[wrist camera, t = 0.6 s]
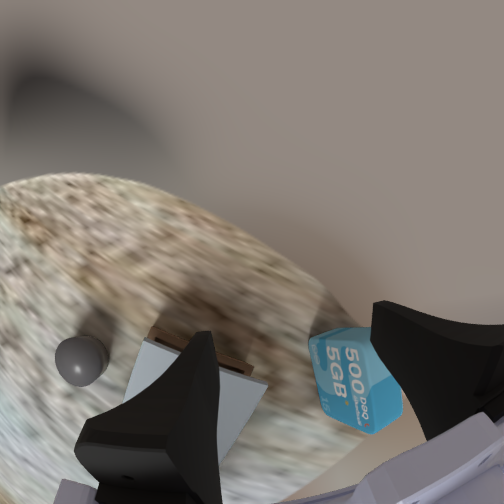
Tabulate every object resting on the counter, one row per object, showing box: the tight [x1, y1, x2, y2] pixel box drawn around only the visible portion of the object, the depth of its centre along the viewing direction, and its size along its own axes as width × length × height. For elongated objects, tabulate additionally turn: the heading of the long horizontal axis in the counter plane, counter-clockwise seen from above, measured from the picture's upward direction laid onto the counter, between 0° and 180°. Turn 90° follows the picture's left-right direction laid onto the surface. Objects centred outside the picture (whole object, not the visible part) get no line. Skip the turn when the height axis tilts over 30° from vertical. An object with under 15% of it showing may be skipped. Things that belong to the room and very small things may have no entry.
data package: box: [308, 327, 403, 434], centre depth 30 cm, size 12×4×12 cm, turn 14°
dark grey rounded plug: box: [55, 336, 108, 387], centre depth 25 cm, size 5×5×5 cm
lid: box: [122, 337, 268, 465], centre depth 23 cm, size 14×12×1 cm
